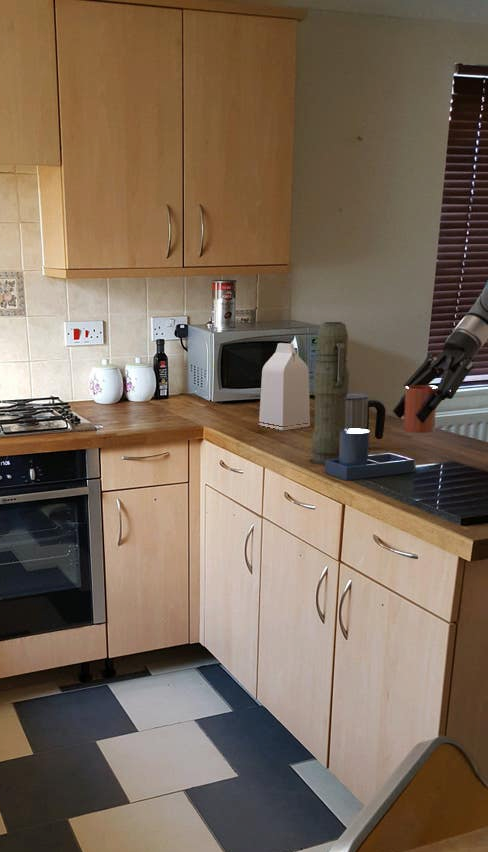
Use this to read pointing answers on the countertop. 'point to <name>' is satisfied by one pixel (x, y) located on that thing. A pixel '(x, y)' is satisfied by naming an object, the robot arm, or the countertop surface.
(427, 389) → the terracotta cup
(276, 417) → the milk
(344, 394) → the thermos
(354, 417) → the milk frother
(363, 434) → the slate blue mug
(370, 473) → the sorter
